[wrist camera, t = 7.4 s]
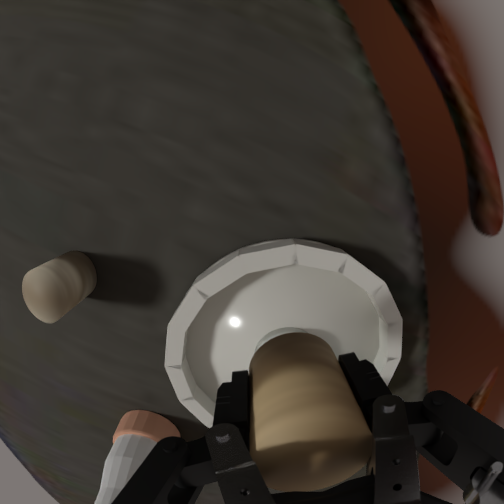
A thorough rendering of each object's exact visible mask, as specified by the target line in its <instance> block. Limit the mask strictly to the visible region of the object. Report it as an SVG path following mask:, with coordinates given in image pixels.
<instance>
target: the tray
mask: <svg viewBox="0 0 504 504" xmlns="http://www.w3.org/2000/svg"><path fill="white" fill-rule="evenodd" d="M402 323H403V320H402V317H401V315H400V312H399V310H398V308H397V306H396V304H395V301H394V299H393V297H392V295H391V293H390V291H389V289H388V287H387V285H386V283H385V282H384V281H383V280H382V279H380V278H379V277H378V276H377V275H375V274H374V273H373V272H371V271H370V270H369V269H368V268H366V267H365V266H364V265H362V264H361V263H360V262H358V261H357V260H356V259H354V258H353V257H351V256H350V255H349V254H347V253H346V252H345V251H343V250H342V249H340V248H336V247H333V246H330V245H328V244H324V243H321V242H317V241H314V240H306V239H299V238H280V239H272V240H264V241H261V242H257V243H253V244H249V245H247V246H244V247H242V248H239V249H237V250H234V251H232V252H231V253H229V254H227V255H225V256H224V257H222V258H220V259H219V260H217V261H216V262H215V263H213V264H212V265H211V266H210V267H208V268H207V269H206V270H205V271H204V272H203V273H202V274H201V275H199V276H198V277H197V278H196V279H195V281H194V283H193V284H192V286H191V287H190V289H189V290H188V291H187V293H186V295H185V297H184V298H183V300H182V302H181V303H180V305H179V306H178V308H177V310H176V311H175V313H174V315H173V316H172V318H171V320H170V322H169V324H168V328H167V340H166V353H165V368H166V371H167V373H168V376H169V378H170V381H171V383H172V385H173V388H174V390H175V392H176V395H177V397H178V399H179V401H180V402H181V403H182V404H183V405H184V406H185V407H186V408H187V409H188V410H189V411H190V412H191V413H192V414H193V415H194V416H195V417H197V418H198V419H199V420H200V421H201V422H202V423H203V424H204V425H205V426H206V427H208V428H211V427H212V426H213V419H214V412H215V405H216V399H217V398H216V396H217V390H218V388H219V387H220V386H221V384H222V383H224V382H231V380H232V372H233V371H242V370H248V373H249V365H250V362H251V359H252V357H253V355H254V354H255V352H256V351H257V350H258V349H259V348H260V347H261V346H262V345H263V344H264V343H265V342H267V341H269V340H270V339H272V338H274V337H276V336H279V335H282V334H286V333H293V332H303V333H309V334H313V335H316V336H318V337H320V338H322V339H323V340H325V341H326V342H327V343H328V344H329V345H330V347H331V348H332V350H333V352H334V354H335V356H336V358H337V360H338V356H339V355H342V354H346V353H351V352H354V353H355V354H356V356H357V358H358V359H359V361H361V360H365V359H366V360H368V361H369V362H371V363H372V364H374V366H375V368H376V369H377V372H379V374H380V376H381V377H382V379H383V380H384V382H385V383H386V385H387V386H388V384H389V382H390V380H391V378H392V376H393V374H394V372H395V370H396V368H397V365H398V363H399V361H400V359H401V350H402Z"/></svg>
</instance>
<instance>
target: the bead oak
mask: <svg viewBox="0 0 504 504" xmlns="http://www.w3.org/2000/svg"><path fill="white" fill-rule="evenodd" d="M249 409H250V433H249V443H250V456H251V458H252V460H253V462H255V463H256V465H257V467H258V469H259V471H260V473H261V475H262V477H263V479H264V481H265V484H266V486H267V487H269V488H272V489H275V490H279V491H286V492H292V491H302V492H306V491H313V490H318V489H322V488H326V487H329V486H332V485H335V484H337V483H339V482H341V481H344V480H345V479H347V478H349V477H351V476H352V475H354V474H355V473H356V472H358V471H359V470H360V469H361V468H362V467H363V466H364V465H365V464H366V463H367V460H368V459H370V457H371V453H372V433H371V431H370V429H369V427H368V424H367V422H366V420H365V418H364V416H363V413H362V411H361V409H360V407H359V405H358V402H357V400H356V398H355V396H354V394H353V392H352V390H351V387H350V385H349V383H348V381H347V379H346V377H345V375H344V373H343V370H342V368H341V366H340V364H339V362H338V360H337V358H336V356H335V354H334V352H333V350H332V348H331V347H330V345H329V344H328V343H327V342H326V341H325V340H323V339H322V338H320V337H318V336H316V335H313V334H309V333H303V332H293V333H286V334H282V335H279V336H276V337H274V338H272V339H270V340H269V341H267V342H265V343H264V344H263V345H262V346H261V347H260V348H259V349H258V350H257V351H256V352H255V354H254V355H253V357H252V359H251V362H250V365H249Z"/></svg>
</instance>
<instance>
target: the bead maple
mask: <svg viewBox="0 0 504 504" xmlns="http://www.w3.org/2000/svg"><path fill="white" fill-rule="evenodd" d="M96 283H97V273H96V269H95V267H94V264H93V263H92V261H91V260H90V259H89V257H88V256H86V255H85V254H84V253H82V252H79V251H70V252H67V253H65V254H63V255H61V256H59V257H57V258H55V259H53V260H50V261H48V262H46V263H44V264H42V265H40V266H38V267H36V268H34V269H32V270H30V271H29V272H27V273H26V275H25V277H24V279H23V283H22V291H23V297H24V300H25V302H26V304H27V306H28V308H29V310H30V311H31V312H32V313H33V315H34V316H35V317H37V318H38V319H39V320H41V321H43V322H46V323H53V322H56V321H57V320H59V319H60V318H61V317H62V316H63V315H65V314H66V313H67V312H68V311H69V310H71V309H72V308H73V307H74V306H76V305H77V304H78V303H79V302H81V301H82V300H83V299H84V298H85V297H87V296H88V295H89V294H91V293H92V292H93V290H94V289H95V287H96Z"/></svg>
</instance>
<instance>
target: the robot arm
mask: <svg viewBox="0 0 504 504" xmlns="http://www.w3.org/2000/svg"><path fill="white" fill-rule="evenodd" d="M338 362H339V364H340V366H341V368H342V370H343V373H344V375H345V377H346V379H347V381H348V383H349V385H350V387H351V390H352V392H353V394H354V396H355V398H356V400H357V402H358V405H359V407H360V409H361V411H362V413H363V416H364V418H365V420H366V422H367V424H368V427H369V429H370V431H371V433H372V453H371V457H370V459H368V460H367V465H366V476H363V477H360V478H356V479H352V480H348V481H346V482H344V483H342V484H340V485H338V486H335V487H333V488H331V489H328V490H326V491H323V492H302V491H292V492H284V493H276V494H271V493H270V492H269V490H268V488H267V486H266V484H265V481H264V479H263V477H262V475H261V473H260V471H259V469H258V467H257V465H256V463H255V462H253V460H252V458H251V456H250V443H249V433H250V409H249V373H248V370H242V371H233V372H232V380H231V382H224V383H222V384H221V386H220V387H219V388H218V390H217V396H216V398H217V399H216V405H215V412H214V419H213V426H212V427H211V428H210V429H209V430H208V431H207V432H206V435H205V436H204V437H203V438H201V439H198V440H194V441H190V442H186V441H185V440H184V439H182V438H180V437H176V436H170V437H166V438H163V439H161V440H160V441H158V442H157V444H156V445H155V446H154V448H153V449H152V450H151V452H150V453H149V454H148V456H147V457H146V458H145V460H144V461H143V462H142V464H141V465H140V466H139V468H138V469H137V470H136V472H135V473H134V474H133V476H132V477H131V478H130V480H129V481H128V482H127V484H126V485H125V486H124V488H123V489H122V490H121V492H120V493H119V494H118V495H117V497H116V498H115V499H114V501H113V502H112V503H111V504H194V503H195V502H196V500H197V498H198V496H199V494H200V492H201V491H202V489H203V487H204V485H205V484H209V483H213V482H216V481H218V484H219V487H220V490H221V493H222V496H223V499H224V502H225V504H452V503H449V502H447V501H444V500H441V499H439V498H436V497H434V496H432V495H429V494H427V493H424V492H422V491H420V486H419V475H418V464H417V455H416V450H417V451H418V452H419V453H420V454H421V455H422V456H424V457H425V458H426V459H427V460H428V461H429V462H430V463H432V464H433V465H434V466H435V467H436V468H437V469H439V470H440V471H441V472H442V473H443V474H444V475H446V476H447V477H448V478H449V479H450V480H451V481H453V482H454V483H455V484H456V485H458V486H459V487H460V488H461V489H462V490H463V491H464V492H463V499H464V502H465V504H504V429H503V428H502V427H500V426H498V425H497V424H495V423H493V422H492V421H491V420H489V419H488V418H486V417H485V416H483V415H481V414H480V413H478V412H477V411H475V410H474V409H472V408H471V407H469V406H468V405H466V404H465V403H463V402H461V401H460V400H458V399H457V398H455V397H454V396H452V395H451V394H449V393H447V392H445V391H440V390H437V391H432V392H430V393H428V394H427V395H426V396H425V397H424V399H423V401H419V402H404V400H403V399H402V398H401V397H399V396H397V395H392V393H391V392H390V390H389V388H388V387H387V385H386V383H385V382H384V380H383V379H382V377H381V376H380V374H379V372H377V369H376V368H375V366H374V364H372V363H371V362H369V361H368V360H366V359H365V360H361V361H359V359H358V358H357V356H356V354H355V353H354V352H351V353H346V354H342V355H339V356H338Z"/></svg>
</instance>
